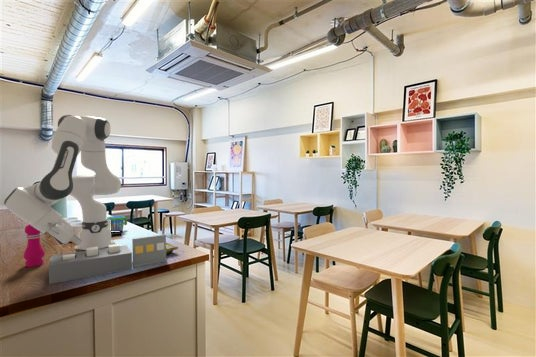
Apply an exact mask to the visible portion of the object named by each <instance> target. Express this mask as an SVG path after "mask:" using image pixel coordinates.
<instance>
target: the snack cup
mask: <svg viewBox="0 0 536 357" xmlns="http://www.w3.org/2000/svg"><path fill="white" fill-rule="evenodd" d="M107 219H110V220H111V231H122V232H123V230H124V225H125V226H127V225H128V220H127V218H126V216H124V215H112V216H108V217H107Z"/></svg>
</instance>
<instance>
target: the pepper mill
mask: <svg viewBox="0 0 536 357" xmlns="http://www.w3.org/2000/svg"><path fill="white" fill-rule="evenodd" d="M24 233H25V234H26V239H27V245H26V249H25V250H24V251H23V253H24V254H23V259H24V260H25V263H24V264H25V265H24V266H25V267H27V268H35V267H37V266H38V267H39V266H41V265H44V263H45V262H44V260H45V259H44V256H45V255H46V254H45V253H46V252H45V249H44V248H43V246H42V244H41V238H42V233H41V232H40V231H39V230H37V229H36V228H34V227H33V226H31V225H30V223H28V224H27V225H25V227H24Z"/></svg>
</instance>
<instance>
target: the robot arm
mask: <svg viewBox="0 0 536 357" xmlns="http://www.w3.org/2000/svg"><path fill="white" fill-rule="evenodd" d="M110 133H111V125H110V122H109V121H108V120H107V119H106V118H102V117H96V116H91V115H71V114H65V115H62V116H60V118H59V119H58V121H57V128H56V130H55V132H54V136H53V137H52V139H51V140H52V141H51V149H52V151H53V152H54V153H55V154H56V155H57V156H56V158H55V160H54V161H55V162H54V164H53V167H52V169H51V171H50V172H49V173H47V174H46V175H45V176H44V177H43V178H42V179H41V180H40V181H39V182H37V183H33V184H31V185H28V186H21V187H20V186H17V187H15V188H14V189H13V190H12V191H11V192H10V194H9V195H8V196H6V198H5V199H4V201H3V205H4V206H5V208H6V209H7V210H8V211H10V212H11V213H12V214H13V215H15V216H16V217H17V218H19V219H21V220H23V221H26V222H27V223H28V224H30V225H31V226H33V227H34V228H36V229H37V230H39V231H40V233H41V234H45V233H49V234H50V236H52V237H53V238H54V239H56V240H58V241H59V242H60V243H61V244H64V245H67V244H69V243H70V242H71V243H74V244H75V246H74V250H81V251H82V250H83V251H86V248H89V247H98V249H103V248H108V245H112V244H116V241H114V240H112V233H111V230H110V229H109V224H108V221H107V205H105V203H103V202H100V201H99V200H96V199H94V196H108V195H113V194H114V195H115V194H118V192H119V191H120V190H121V189H122V182H121V180H120V178H119V177H118V176H117V175H115V174H113V172H112V171H110V169H109V167H108V165H107V164H108V163H107V158H106V155H107V154H106V139H107V138H108V137H109V136H110V135H111V134H110ZM79 155H80V163H81V165H82V166H83V167H84V168H85V169H88V170H90V171H92V172H94V173H95V174H93V175H91V174H90V175H89V174H88V175H87V174H85V175H81V174H80V175H74V176H73V170H74V168H75V164H76V161H77V158H78V156H79ZM69 195H70V196H71V197H73V198H74V199H75V200H76V201H77V202H78V203H79V205H80V207H81V214H82V221H81V230H80V232H78V236H77V235H76V234H75V233H74V226H73V225H71V224H70V223H69V222H68V221H67V220H65V219H64V218H63V216H64V215H63V214H61V213H60V212H58V211H57V210H55V209H54V208H53V207H52V206H53V205H54V204H56V203H57V202H59V201H61V200H62V199H64V198H67V197H68V196H69ZM107 226H108V227H107Z"/></svg>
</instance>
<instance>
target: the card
mask: <svg viewBox="0 0 536 357" xmlns="http://www.w3.org/2000/svg"><path fill="white" fill-rule="evenodd" d="M166 242H167V234H159V235H150V236H144V237H143V236H142V237H134V238H132V268H140V267H144V266H150V265H154V264H161V262H162V263H167V262H168V258H167V254H166Z"/></svg>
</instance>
